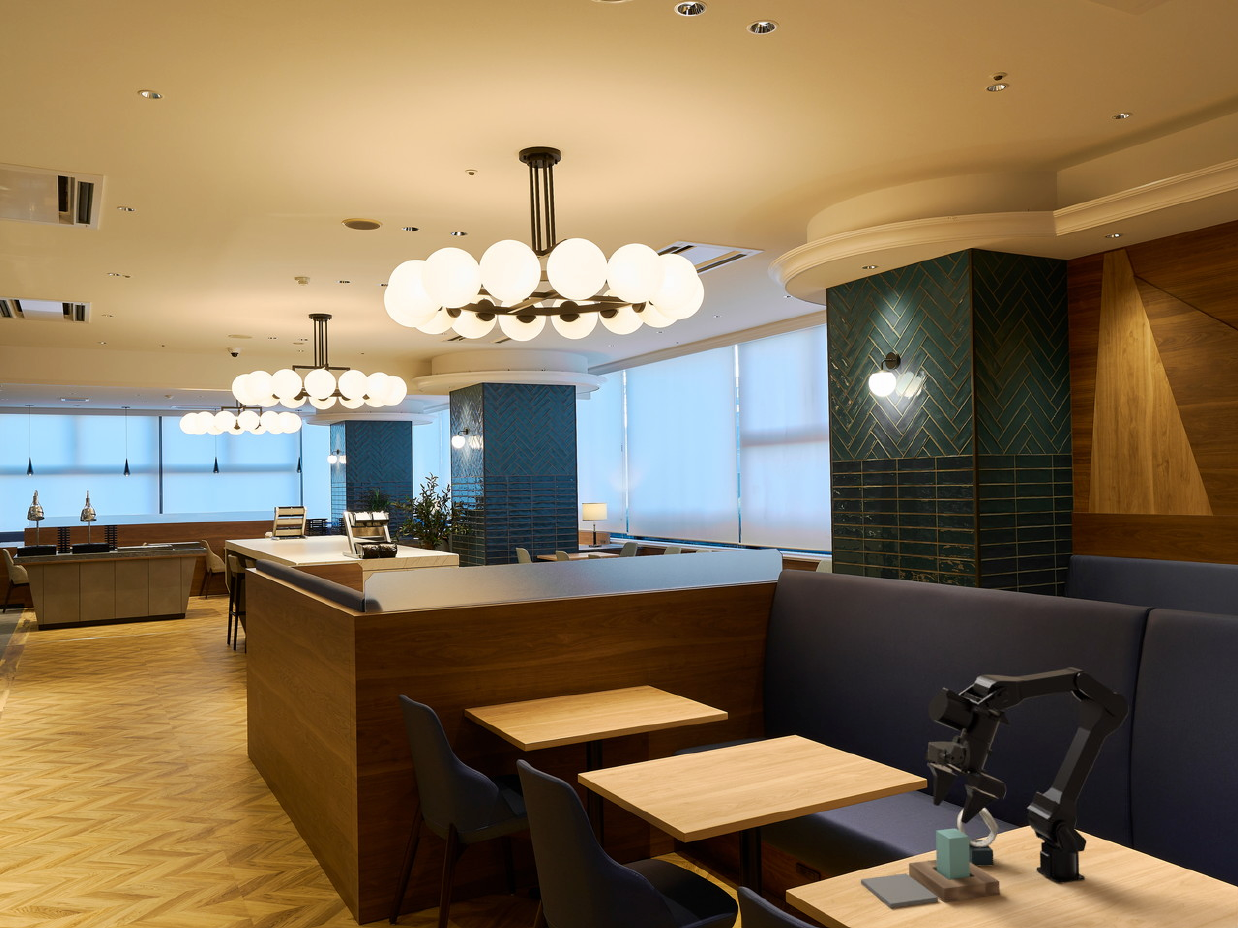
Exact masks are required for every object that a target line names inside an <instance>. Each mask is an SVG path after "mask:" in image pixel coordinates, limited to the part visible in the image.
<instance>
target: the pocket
mask: <svg viewBox="0 0 1238 928" xmlns="http://www.w3.org/2000/svg"><path fill="white" fill-rule="evenodd" d="M908 870H909V872H908V875H909V876H910V877H912V878H913V879H914V880H916V881H917V882H918V883H920V884H921V885H922V886H924V887H925V888H926V889H928V890H929V891H930V892H932V893H933V894H934V895H936V896H937V897H938V899H940V900H941V901H943V902H944V903H946V902H953V901H961V900H962V901H963V900H969V899H977V898H981V897H982V898H983V897H990V896H996V895H1001V894H1000V893H1001V892H1000V881H999V879H996V877H994V876H992V875H990V873H987V872H986V871H984V870H983V869H981V868H980V867H978V866H975V865H974V864H972V863H971V862H970V877H966V878H959V879H951V880H948V879H947V878H945V877H944V876H943V875H941V874H940V873H938V872H937V859H932V860H925V861H918V862H917V861H916V862H909V863H908Z"/></svg>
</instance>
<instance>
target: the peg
mask: <svg viewBox="0 0 1238 928" xmlns="http://www.w3.org/2000/svg"><path fill="white" fill-rule="evenodd" d="M969 838H970V836H969V835H967V833H966V834H964V833H962V832H961V831H959V829H958V828H948V829H947V828H946V829H939V830H935V847H936V848H935V850H936V851H935V852H936V853H935V854H936V859H935V860H937V872H938V873H940V874H941V875H943V876H944V877H945V878H947V879H948V880H951V879H959V878H966V877H970V861H969Z"/></svg>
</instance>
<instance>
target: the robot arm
mask: <svg viewBox="0 0 1238 928" xmlns="http://www.w3.org/2000/svg"><path fill="white" fill-rule="evenodd" d="M1067 692H1068V693H1069V692H1071V693H1072V695H1073V696H1074V697H1075V698H1076V699H1077V700H1079V701H1080V704H1079V708H1078V715H1079V726H1078V728H1077V731H1076V734H1075V735H1074V737H1073V739H1072V742H1071V744H1070V746H1069V749H1068V751H1067V752H1066V754H1065V757H1064V759H1063V761H1062V763H1061V765H1060V768H1059V770H1058V772H1057V774H1056V776H1055V779H1054V780H1053V783H1052V785H1051V787H1050V788H1049V789H1048V790H1047V791H1045V792H1044V793H1041V792H1039V791H1036V792H1035V793H1034V795H1033V798H1032V801H1031V803H1030V805H1029V806H1028V807H1026V809H1027V810H1028V813H1027V820H1028V824H1029V826H1030V827H1031V829H1032V830H1033V831H1034V834H1035V836H1036V838H1038V839H1040V840H1042V841H1043V842H1041V843H1040V845H1041V846H1040V847H1041V850H1040V851H1039V864H1040V865H1039V866H1038V867H1036V871H1037V872H1039V873H1040V874H1041V875H1043V876H1045V877H1047V878H1049V879H1051V880H1052V881H1054V882H1056V883H1058V884H1062V883H1068V882H1076V881H1083V880H1085V879H1086V876H1085V875H1083V874H1081V873H1080V855H1079V854H1080V853H1081V852H1084V851H1085V848H1086V845H1087V840H1086V838H1084V837H1083V836H1082V834H1081V833H1080V832H1078V830H1077V829H1076V824H1077V821H1078V814H1077V800H1078V799H1079V796H1080V794H1081V792H1082V789H1083V787H1084V785H1085V784H1086V781H1087V778H1088V776H1089V774H1090V772H1091V771H1092V768H1093V766H1094V763H1095V761H1096V759H1097V757H1098V755H1099V753H1100V750H1101V748H1102V746H1103V744H1104V742H1105V740H1106V738H1107V737H1108V736H1110V735H1111V734H1112V733H1114V732H1116V730H1118V729H1119V728H1120V727H1121V725H1122V724H1123V722H1124V721H1125V719H1126V718H1127V716H1128V715H1129V711H1130V706H1129V703H1128V700H1127V699H1126V698H1125V696H1123V695H1122V694H1120V693H1117V692H1114V691H1113V690H1112V689H1110V688H1108V687H1107V686H1106V685H1104V684H1102V683H1101V682H1099V681H1098V680H1097V679H1095V678H1094V677H1093V676H1091V675H1090V674H1089V673H1088V672H1087V671H1085V670H1083V669H1079V668H1075V667H1072V666H1071V667H1070V666H1069V667H1066V668H1063V669H1058V670H1051V671H1045V672H1040V673H1033V674H1028V675H1027V674H1026V675H1018V676H1008V675H1002V674H1001V675H999V674H981V675H979V676H977V677H976V679H975V681H974V683H973V684H971V685H969V687H967V688H965V689H964V690H963V691H961V692H960V693H959V694H958V693H956V692H955V691H953V690H951V689H948V688H945V687H942V689H941V692H940V693H937V694H936V695H935V696H934V697H933V699H932V700H931V701H930V702H929V705H928V706H929V707H928V715H929V718H930V719H931V721H933V722H936V723H938V724H940V725H943V726H946V727H947V728H948V727H949V728H951V729H953V730H956V731H962V732H961V733H960V736H959V735H958V734H956V735H955V736H953V738H952V739H951V740H952V741H928V749H927V751H926V753H925V756H924V760H925V761H927V763H926V765H927V767H929V769H930V771H931V772H932V775H933V798H932V800H933V801H932V803H933V805H934V806H936V807H939V806H940V805H941V803H942V802H943V801H944V800H945V798H946V797H947V794H948V793H949V792H950V790H951V788H952V786H953V785H954V784H955V782H956V780H957V779H958V778H959V775H960V776H962V777H963V778H965V779H967V781H968V784H966V783H964V787H965V790H966V793H967V797H966V800H965V803H964V806H963V809H964V810H963V809H962V810H963V813H962V818H961V822H962V823H963V824H968V823H969V822H970V821H971V820H972V819H973V818H974V817H976V816H977V815H978V814H980V813H979V812H980V811H981V810H982V809H983V808H986V807H987V806H989V805H991V803H993V802H994V801H997V802H998V800H999V799H1002V800H1004V799H1005V796H1006V793H1007V792H1008V791H1007V789H1008V788H1007V786H1006V783H1005V782H1003V781H1001V780H999V779H997V778H995V777H993V776H991V775H988V774H987V772H988V770H985V769H984V766H985V763H986V761H987V759H988V758H987V757H988V756H990V757H993V756H994V753H995V751H994V750H992V749H991V746H992V744H993V742H994V739H995V735H996V734H997V729H998V727H999V725H1000V724H1003V725H1005V726H1010V725H1011V722H1010V720H1009V719H1008V717H1007V714H1006V711H1005V710H1007V709H1009V708H1012V707H1016V706H1018V705H1020V703H1022V702H1023V701H1024V700H1027V699H1030V698H1031V699H1032V698H1037V697H1043V696H1044V697H1045V696H1049V695H1050V696H1051V695H1057V694H1062V693H1067ZM975 707H978V708H977V709H976V708H975ZM994 709H996V710H994ZM955 773H956V774H955ZM957 774H958V775H957Z"/></svg>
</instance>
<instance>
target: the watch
mask: <svg viewBox="0 0 1238 928" xmlns="http://www.w3.org/2000/svg"><path fill="white" fill-rule="evenodd" d="M963 810H964V808H962V809H961V811H960V812H959V813H958V815H957V819H956V823H957V824H956V827H957V830H959V831H961V832H962V833H964V834H966V835H967V833H966V830H965V828H964V823H963V822H961V818H962V813H963ZM978 814H979V816H980V817H981V819H982V821H983V822H984V823H985V825H986V827H987V828H988V829H989V830H990V833H989V834H988V836H987V837H986V838H985V839H971V838H970V837H969V861H970V862H971V863H972V864H974V865H993V866H994V850H993V848H991V847H990V845H991V844H993V842H994V841H996V838H997V837H998V835H999V834H998V830H999V829H1000V828H999V825H998V824H997V822H996V820H995V819H994V817H993V816H992V814H991V813H990V812H989V810H988V809H987V808H986V807H985V808H983V809H982V810H981V811H980V812H979V813H978Z"/></svg>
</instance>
